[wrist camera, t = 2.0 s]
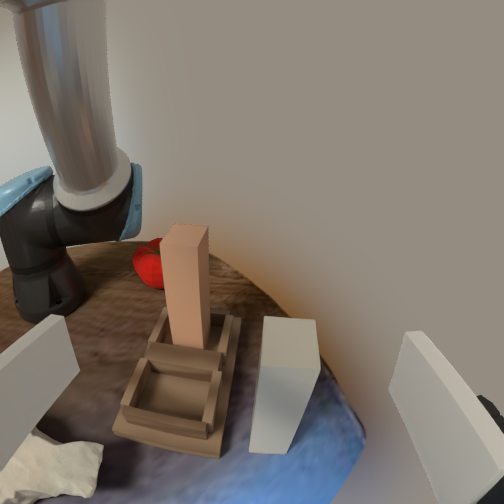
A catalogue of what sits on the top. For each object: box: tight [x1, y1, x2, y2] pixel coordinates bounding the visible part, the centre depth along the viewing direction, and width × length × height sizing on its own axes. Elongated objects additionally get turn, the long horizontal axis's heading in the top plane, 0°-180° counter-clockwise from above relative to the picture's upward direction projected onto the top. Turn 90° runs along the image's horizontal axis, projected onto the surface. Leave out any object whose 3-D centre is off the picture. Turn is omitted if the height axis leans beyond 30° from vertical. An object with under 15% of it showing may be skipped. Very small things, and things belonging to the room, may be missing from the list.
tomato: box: [133, 238, 165, 289], centre depth 52 cm, size 10×11×6 cm
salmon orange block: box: [159, 224, 211, 350], centre depth 35 cm, size 4×5×16 cm
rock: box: [0, 426, 104, 504], centre depth 16 cm, size 21×5×15 cm
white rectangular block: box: [249, 316, 321, 454], centre depth 24 cm, size 4×5×16 cm
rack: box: [112, 307, 242, 459], centre depth 34 cm, size 22×12×4 cm, turn 175°
